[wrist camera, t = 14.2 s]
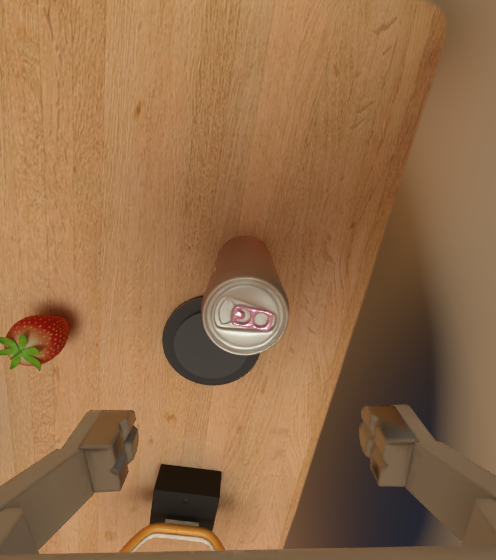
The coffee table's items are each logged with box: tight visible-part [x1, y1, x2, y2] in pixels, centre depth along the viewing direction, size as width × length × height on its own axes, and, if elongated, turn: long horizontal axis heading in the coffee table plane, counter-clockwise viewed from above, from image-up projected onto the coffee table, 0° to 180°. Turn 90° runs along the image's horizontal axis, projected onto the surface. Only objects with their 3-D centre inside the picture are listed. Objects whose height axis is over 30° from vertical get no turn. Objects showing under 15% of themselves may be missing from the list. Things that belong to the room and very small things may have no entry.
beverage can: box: [201, 236, 289, 355], centre depth 26 cm, size 6×6×15 cm
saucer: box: [162, 296, 260, 385], centre depth 35 cm, size 12×12×1 cm
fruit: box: [0, 315, 69, 371], centre depth 31 cm, size 5×5×8 cm
